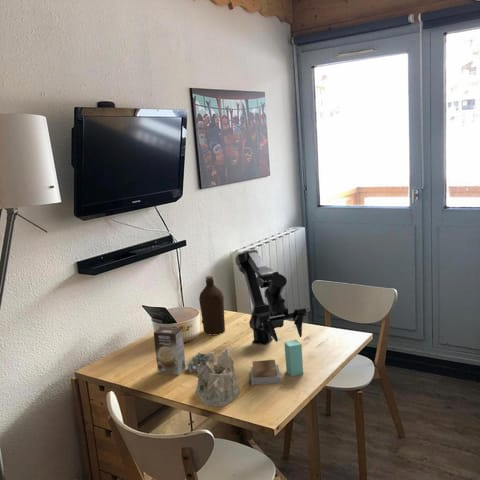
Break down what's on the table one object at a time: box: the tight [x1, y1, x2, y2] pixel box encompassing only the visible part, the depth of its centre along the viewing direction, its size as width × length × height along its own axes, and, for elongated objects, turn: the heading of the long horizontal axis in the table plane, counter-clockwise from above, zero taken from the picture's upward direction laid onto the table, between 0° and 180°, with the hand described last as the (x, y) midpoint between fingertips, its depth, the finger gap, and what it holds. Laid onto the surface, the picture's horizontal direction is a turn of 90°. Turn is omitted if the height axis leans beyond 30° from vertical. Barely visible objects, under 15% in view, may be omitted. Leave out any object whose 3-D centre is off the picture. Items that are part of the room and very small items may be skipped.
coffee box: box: [153, 326, 187, 376], centre depth 195 cm, size 9×6×16 cm
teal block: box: [284, 339, 304, 377], centre depth 186 cm, size 4×4×11 cm
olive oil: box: [198, 275, 226, 336], centre depth 231 cm, size 11×11×25 cm
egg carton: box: [185, 352, 209, 374], centre depth 198 cm, size 11×8×4 cm
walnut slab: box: [252, 359, 277, 378], centre depth 184 cm, size 8×8×2 cm
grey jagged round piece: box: [195, 347, 240, 407], centre depth 174 cm, size 16×16×15 cm
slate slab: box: [250, 364, 282, 385], centre depth 185 cm, size 10×10×2 cm
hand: (289, 339), depth 188 cm, fingers open, 9 cm apart
